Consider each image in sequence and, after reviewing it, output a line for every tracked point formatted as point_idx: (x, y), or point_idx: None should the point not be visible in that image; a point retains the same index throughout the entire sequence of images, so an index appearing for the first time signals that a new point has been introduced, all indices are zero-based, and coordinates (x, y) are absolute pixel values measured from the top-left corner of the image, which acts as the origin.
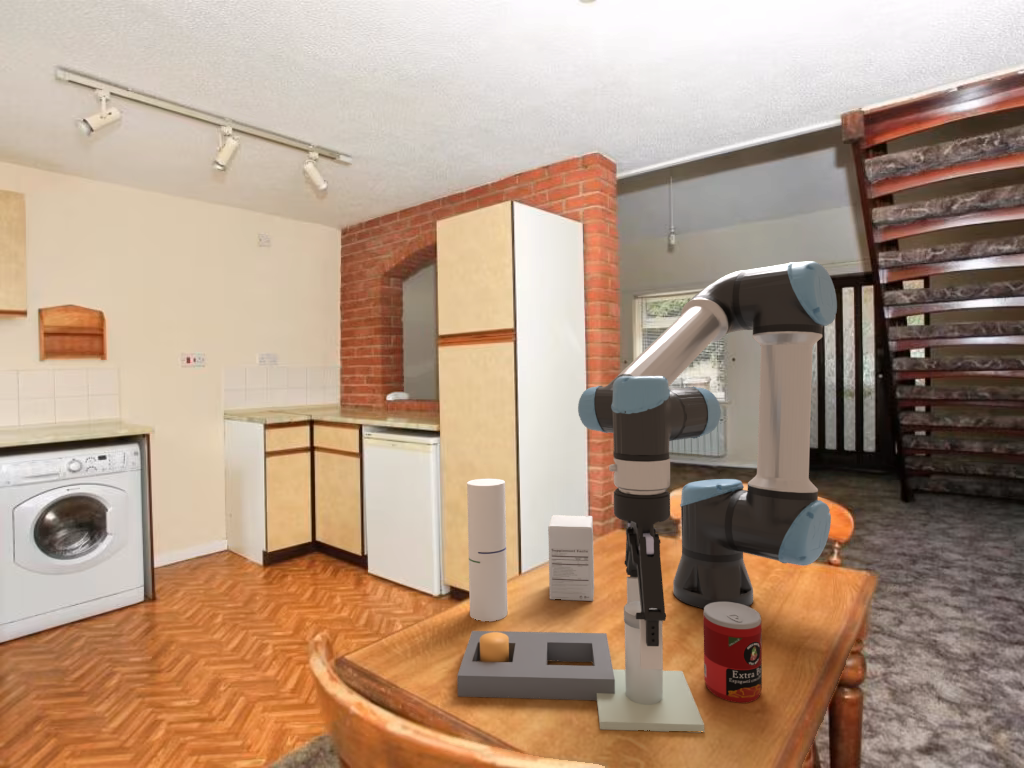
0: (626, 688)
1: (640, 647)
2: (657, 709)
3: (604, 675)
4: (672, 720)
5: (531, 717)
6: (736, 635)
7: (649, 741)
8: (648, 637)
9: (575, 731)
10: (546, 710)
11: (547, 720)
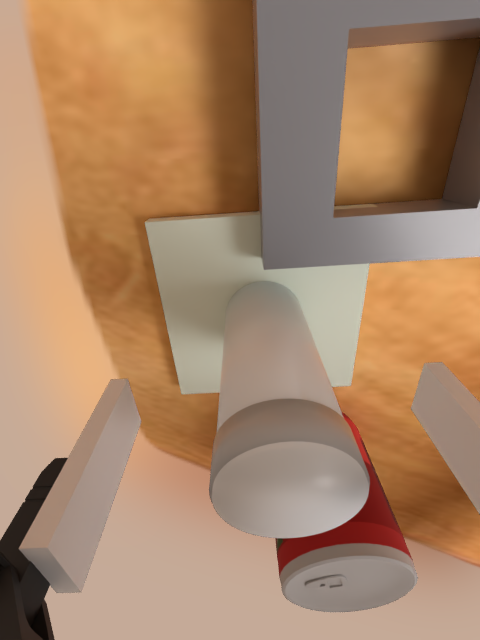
0: (255, 289)
1: (87, 428)
2: (212, 334)
3: (281, 244)
4: (183, 354)
5: (154, 10)
6: (278, 555)
7: (138, 308)
8: (31, 493)
9: (127, 159)
10: (197, 63)
11: (152, 72)
